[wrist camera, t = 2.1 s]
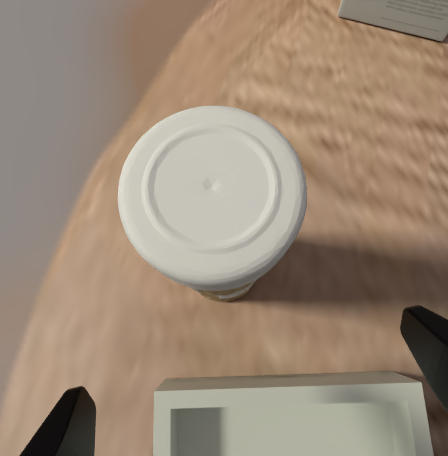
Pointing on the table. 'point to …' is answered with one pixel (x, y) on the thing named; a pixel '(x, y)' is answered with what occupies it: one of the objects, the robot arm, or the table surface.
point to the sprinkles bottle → (212, 199)
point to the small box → (401, 15)
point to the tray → (292, 416)
